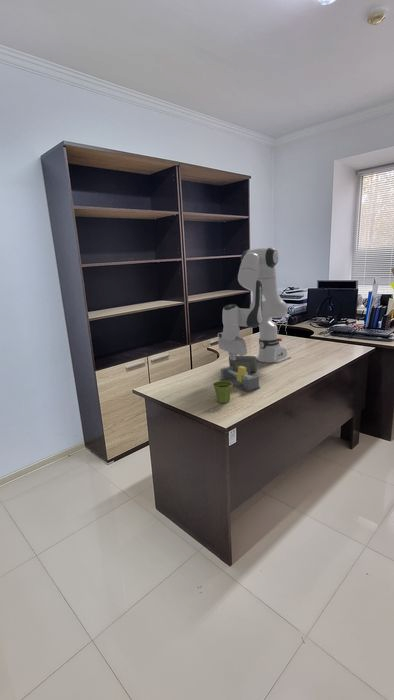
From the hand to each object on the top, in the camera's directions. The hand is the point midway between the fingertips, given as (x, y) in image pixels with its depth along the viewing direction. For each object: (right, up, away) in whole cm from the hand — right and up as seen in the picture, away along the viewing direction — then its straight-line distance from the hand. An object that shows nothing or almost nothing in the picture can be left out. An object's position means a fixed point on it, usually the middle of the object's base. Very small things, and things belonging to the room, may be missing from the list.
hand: (233, 359), depth 189 cm
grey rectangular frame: (+3, -13, -2) cm, 14 cm away
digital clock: (+8, -8, +16) cm, 19 cm away
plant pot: (-7, -19, -22) cm, 30 cm away
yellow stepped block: (+4, -11, -5) cm, 13 cm away
